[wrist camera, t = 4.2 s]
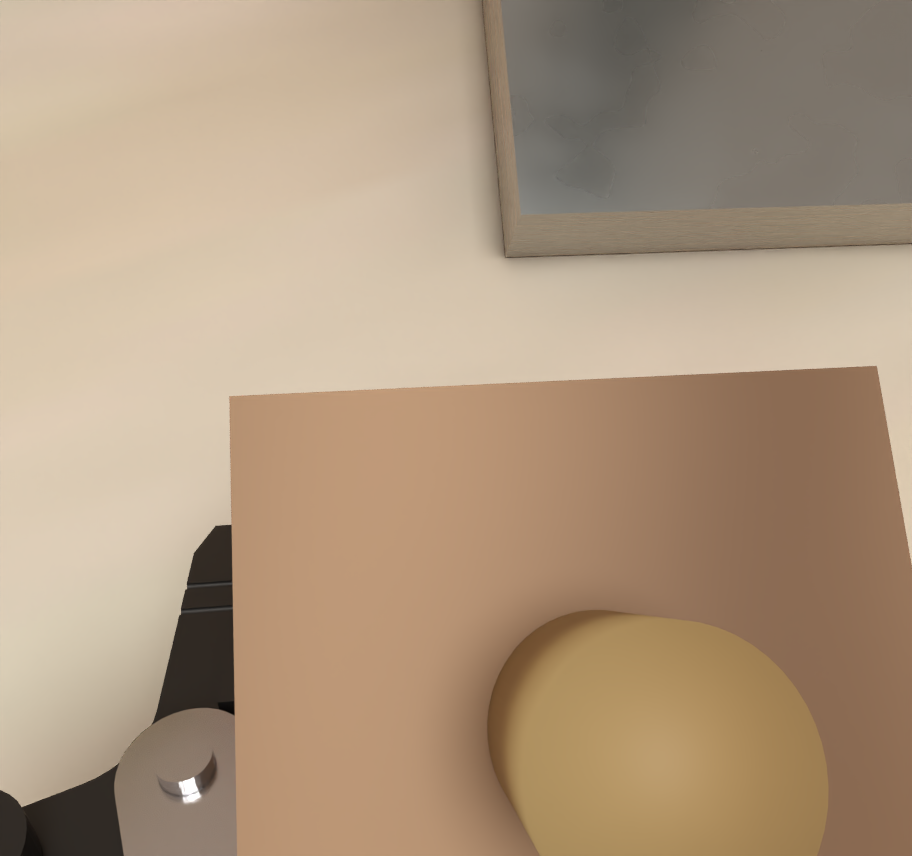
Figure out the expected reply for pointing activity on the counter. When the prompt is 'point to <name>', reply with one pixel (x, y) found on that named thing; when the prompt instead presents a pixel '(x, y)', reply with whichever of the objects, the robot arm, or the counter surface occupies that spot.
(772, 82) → the press
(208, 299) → the counter surface
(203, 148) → the counter surface
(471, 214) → the counter surface
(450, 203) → the counter surface
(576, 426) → the block
